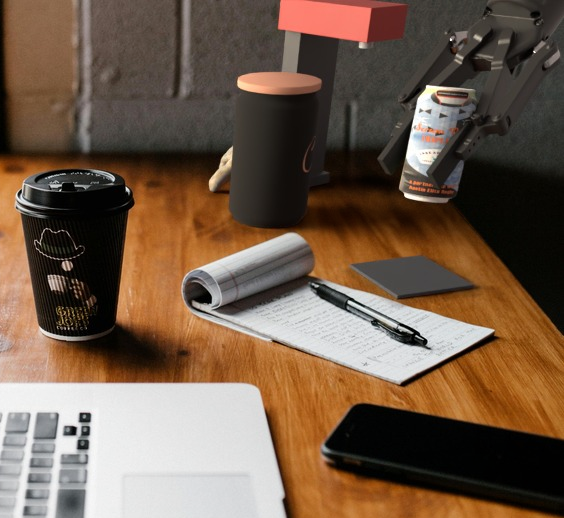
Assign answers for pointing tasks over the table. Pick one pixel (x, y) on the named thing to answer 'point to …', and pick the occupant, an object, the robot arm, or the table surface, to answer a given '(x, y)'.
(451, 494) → the table surface
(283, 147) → the coffee jar
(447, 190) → the beverage can
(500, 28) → the robot arm
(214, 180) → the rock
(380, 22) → the coffee maker
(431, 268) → the mat
